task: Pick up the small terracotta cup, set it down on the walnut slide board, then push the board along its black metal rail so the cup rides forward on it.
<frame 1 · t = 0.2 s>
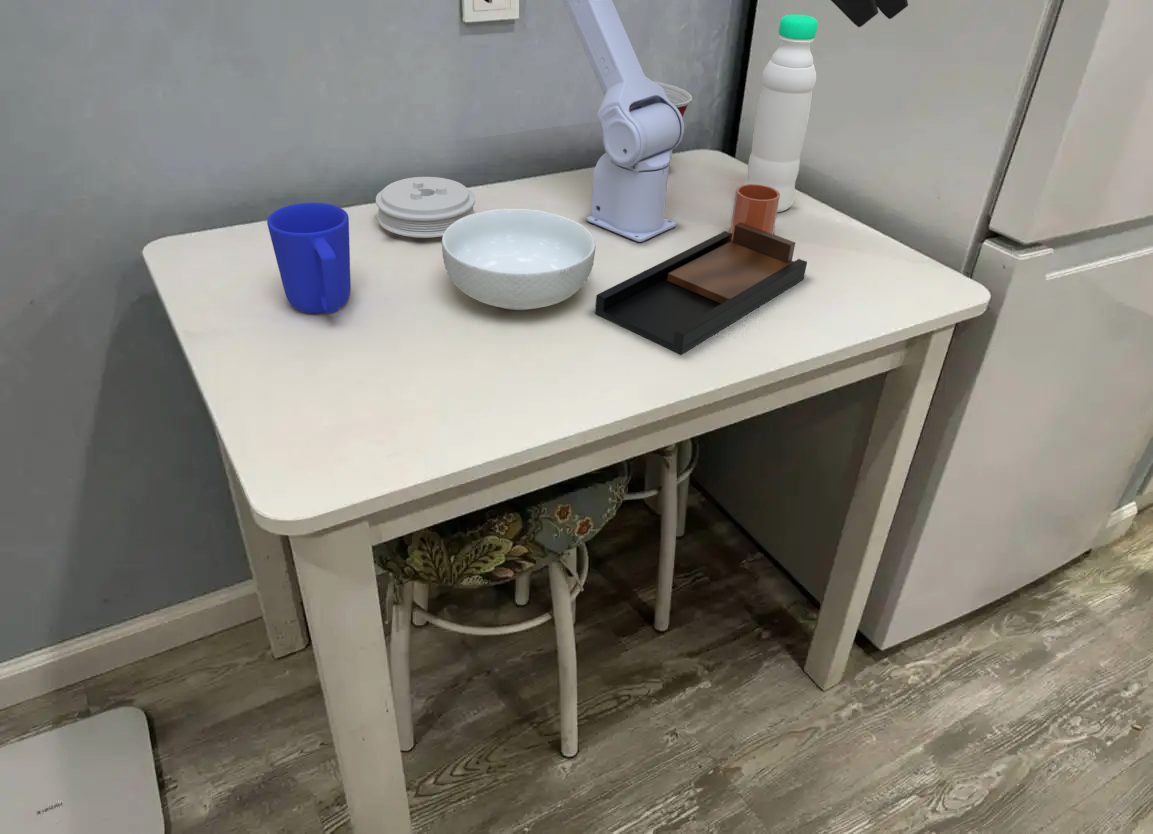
hand: (884, 16, 87), 31 cm above the table, tool tilted 45°, fingers open, 7 cm apart
mug: (324, 311, 98), on the table
slide rail: (703, 296, 104), on the table
cup: (750, 239, 118), on the table
slide: (733, 261, 106), point 3 cm above the table, slide at 0.0 cm
plastic cup: (648, 170, 137), on the table
water bottle: (766, 205, 128), on the table
cereal bowl: (518, 296, 103), on the table
lid: (427, 225, 117), on the table
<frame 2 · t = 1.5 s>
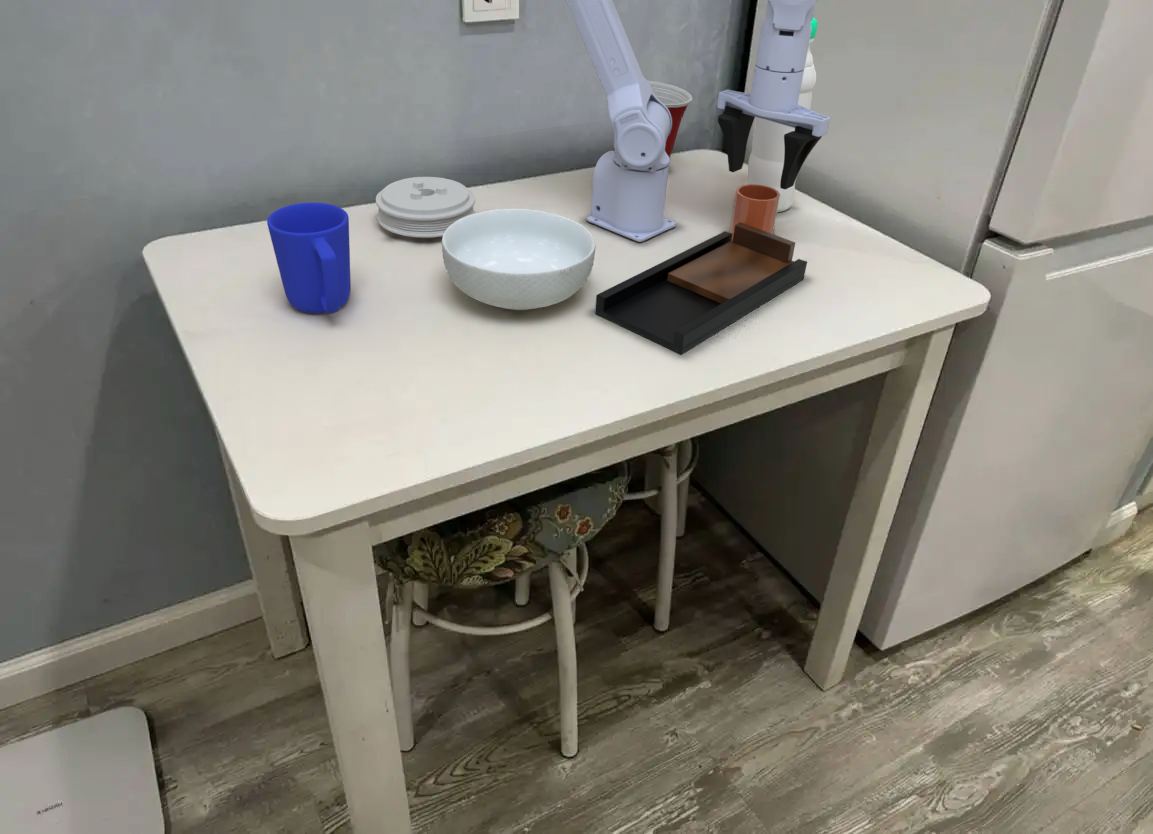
hand: (760, 178, 113), 8 cm above the table, tool pointing down, fingers open, 7 cm apart
nothing on the table moved.
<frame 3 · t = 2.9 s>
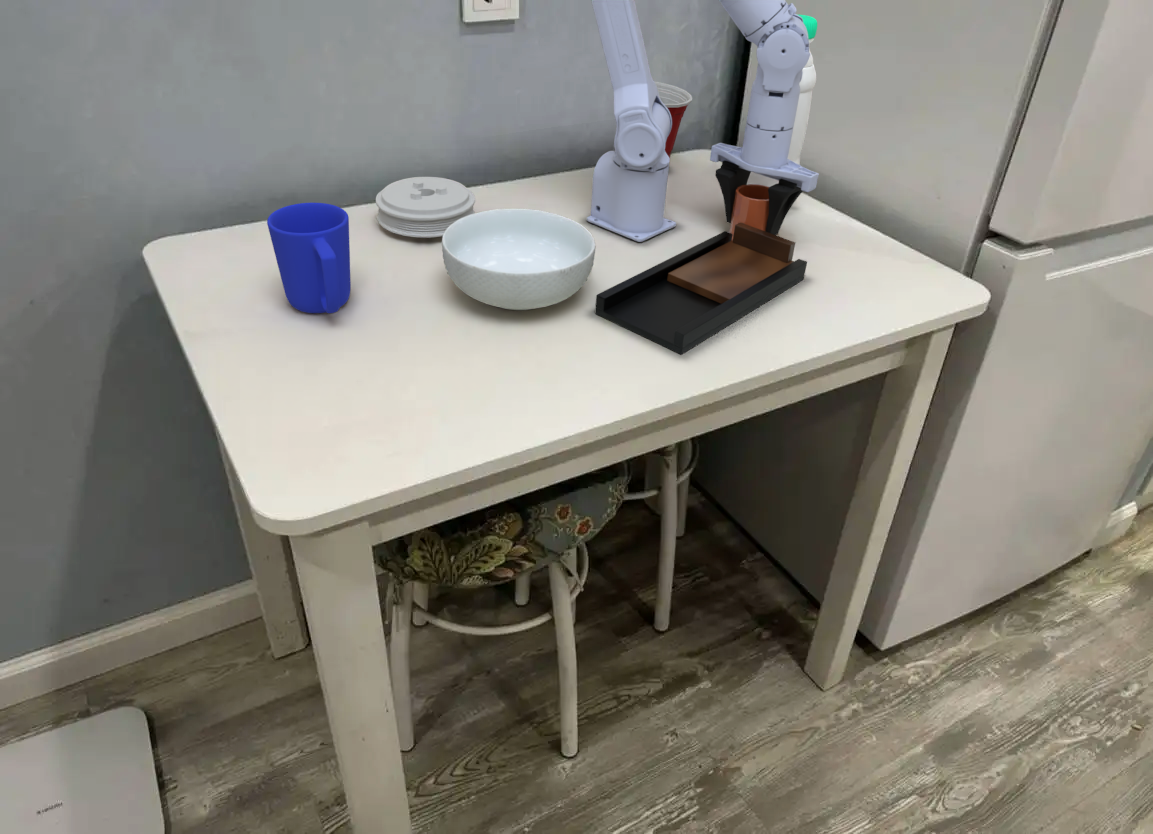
hand: (752, 228, 117), 2 cm above the table, tool pointing down, fingers closed on cup, 5 cm apart
cup: (749, 239, 118), on the table, touching gripper
everything else where it was.
when the fingers open (3 cm above the table, at t = 7.3 s): cup stays where it is, resting on slide.
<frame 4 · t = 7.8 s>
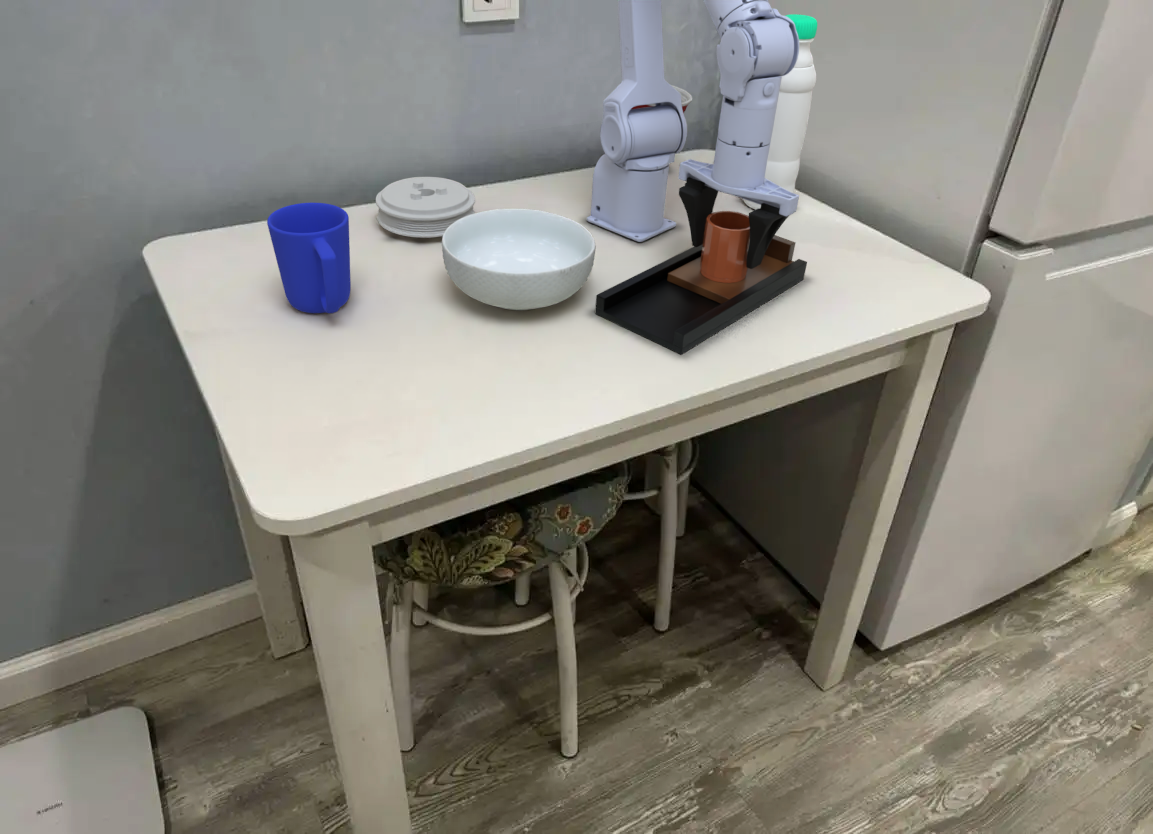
hand: (725, 254, 104), 4 cm above the table, tool pointing down, fingers open, 7 cm apart
cup: (723, 272, 105), point 2 cm above the table, touching slide
slide: (733, 261, 106), point 3 cm above the table, slide at 0.0 cm, touching cup
everything else where it was.
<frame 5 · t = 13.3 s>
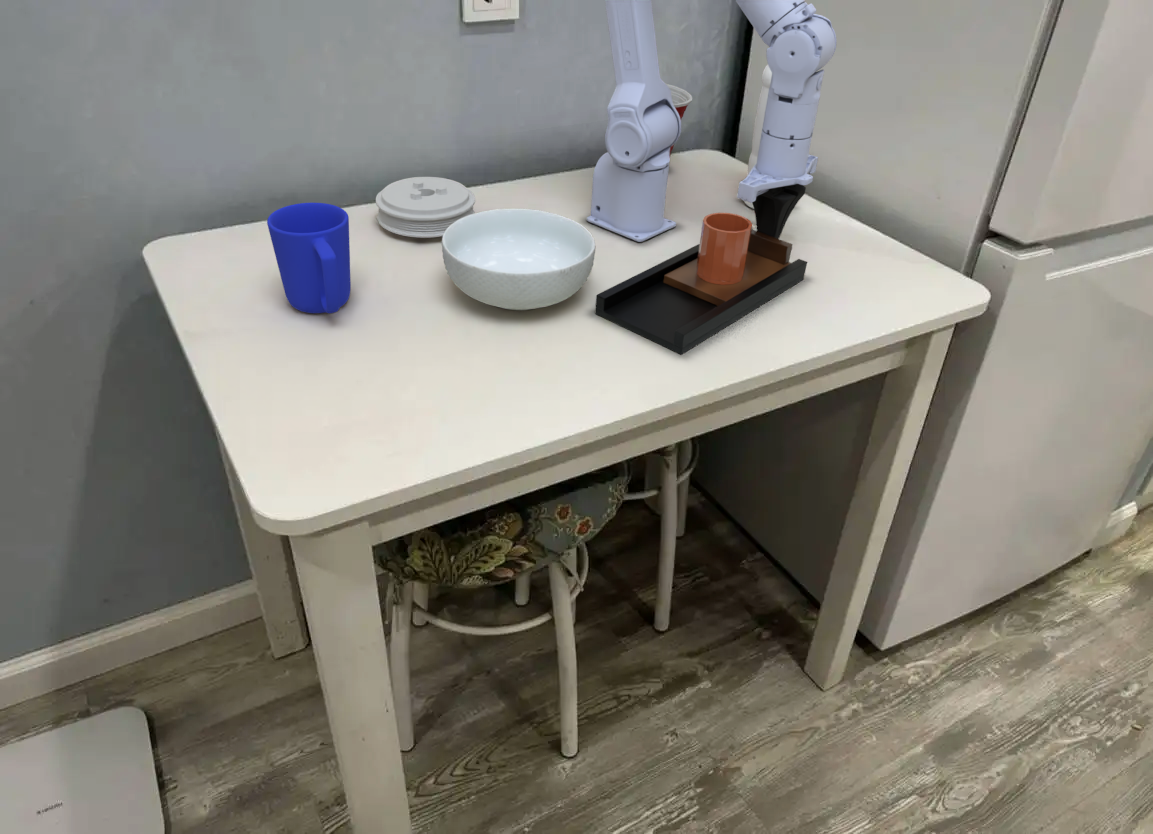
hand: (767, 241, 110), 3 cm above the table, tool pointing down, fingers closed
slide: (730, 263, 106), point 3 cm above the table, slide at 0.7 cm, touching cup, gripper
everything else where it was.
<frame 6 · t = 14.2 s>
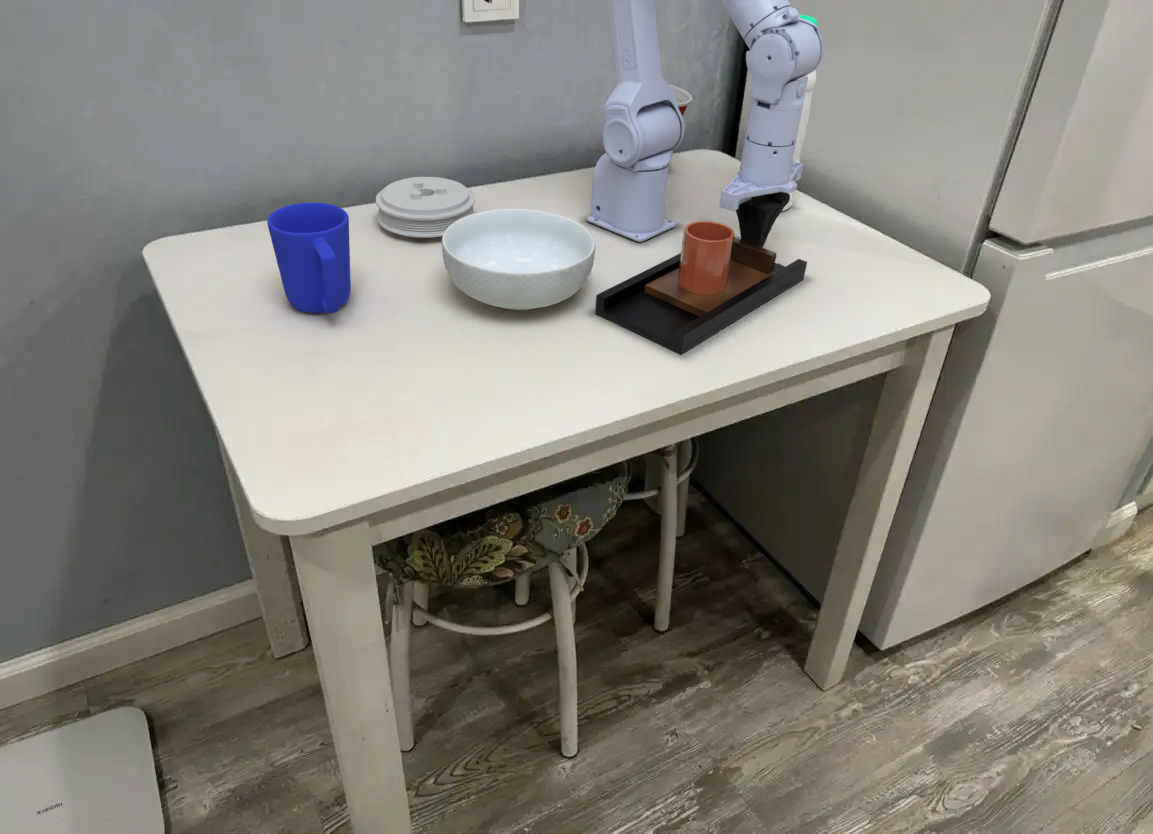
hand: (751, 249, 108), 3 cm above the table, tool pointing down, fingers closed
cup: (701, 283, 103), point 2 cm above the table, touching slide
slide: (712, 273, 103), point 3 cm above the table, slide at 4.3 cm, touching cup, gripper
everything else where it was.
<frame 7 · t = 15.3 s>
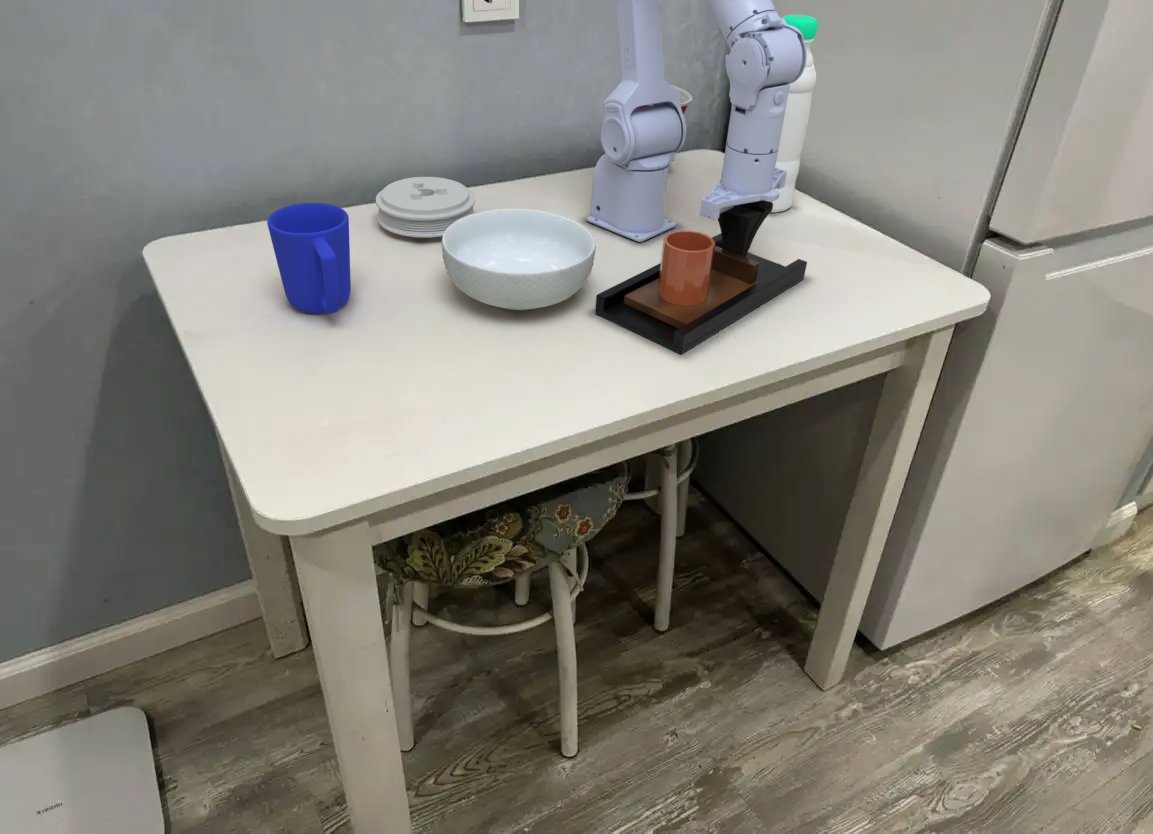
hand: (734, 259, 106), 3 cm above the table, tool pointing down, fingers closed
cup: (682, 294, 100), point 2 cm above the table, touching slide
slide: (693, 283, 101), point 3 cm above the table, slide at 8.0 cm, touching cup, gripper
everything else where it was.
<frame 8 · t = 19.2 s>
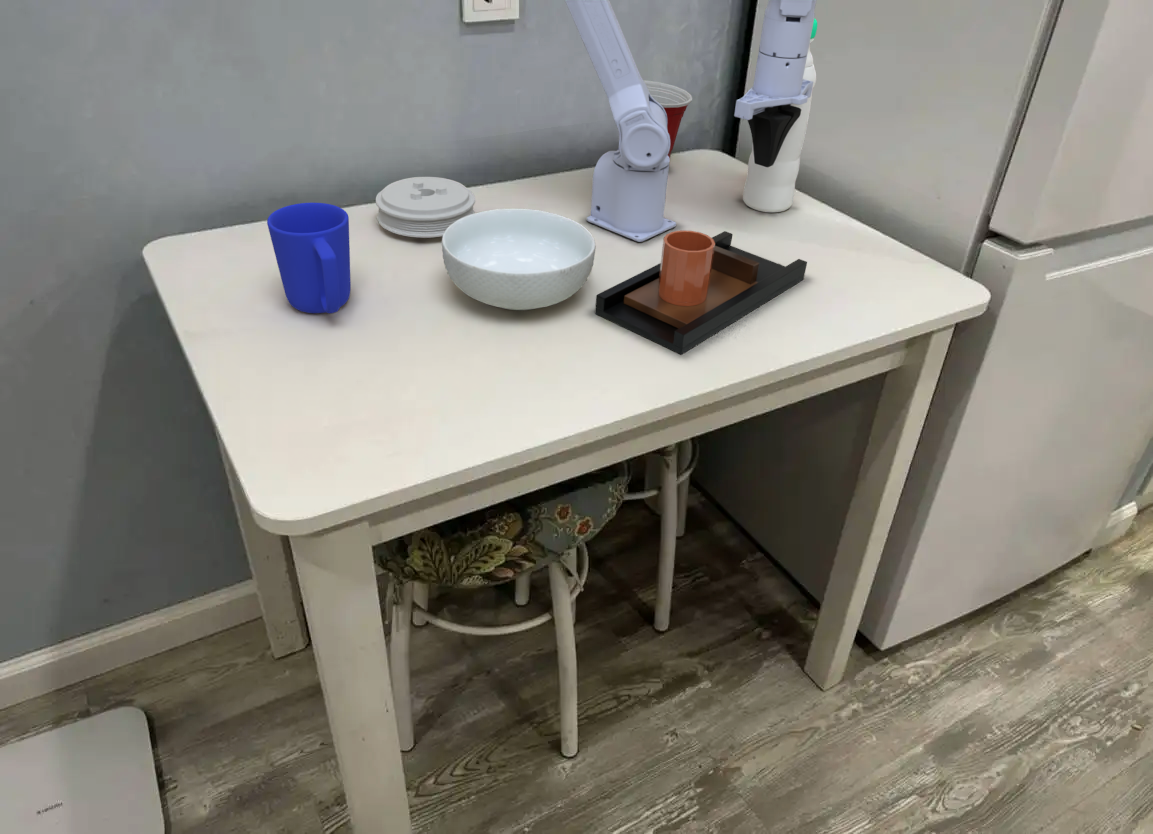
hand: (763, 164, 114), 9 cm above the table, tool pointing down, fingers closed
slide: (693, 283, 101), point 3 cm above the table, slide at 8.0 cm, touching cup
everything else where it was.
at the end: cup inside the target area (0.2 cm from its centre), point 1.8 cm above the table; cup tilted 0°; slide slide at 8.0 cm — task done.
